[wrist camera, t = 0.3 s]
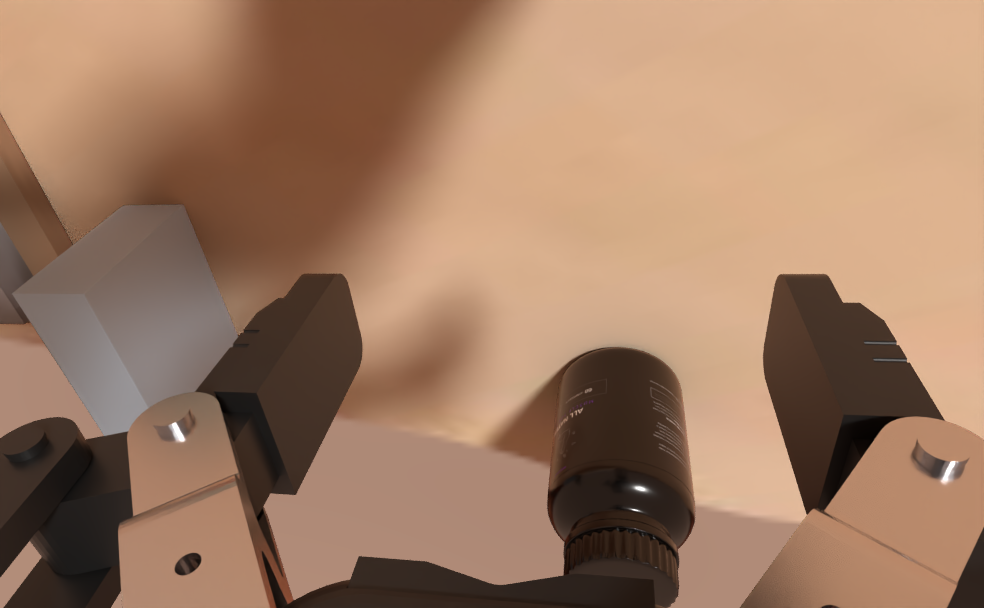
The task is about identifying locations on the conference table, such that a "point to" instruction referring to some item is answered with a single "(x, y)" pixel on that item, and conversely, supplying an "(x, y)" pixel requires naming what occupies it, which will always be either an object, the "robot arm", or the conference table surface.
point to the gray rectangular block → (131, 313)
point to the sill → (23, 227)
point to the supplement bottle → (622, 469)
